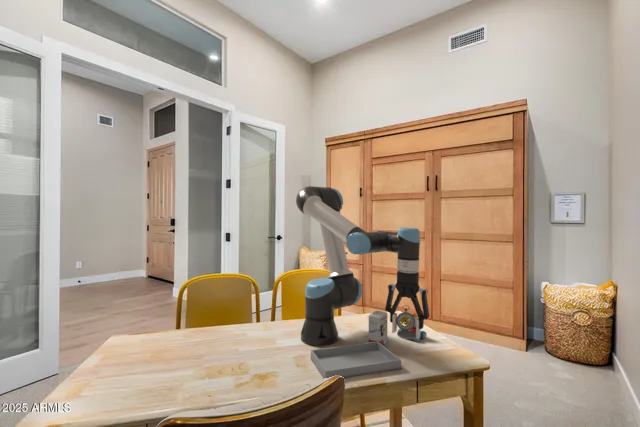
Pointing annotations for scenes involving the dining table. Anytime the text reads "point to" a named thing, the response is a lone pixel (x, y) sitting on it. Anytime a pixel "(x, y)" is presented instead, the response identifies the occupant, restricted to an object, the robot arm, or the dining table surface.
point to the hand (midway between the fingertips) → (406, 334)
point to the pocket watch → (403, 319)
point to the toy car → (422, 333)
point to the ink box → (378, 327)
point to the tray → (354, 360)
